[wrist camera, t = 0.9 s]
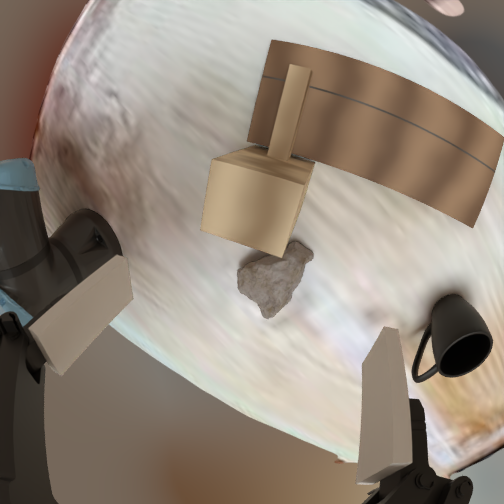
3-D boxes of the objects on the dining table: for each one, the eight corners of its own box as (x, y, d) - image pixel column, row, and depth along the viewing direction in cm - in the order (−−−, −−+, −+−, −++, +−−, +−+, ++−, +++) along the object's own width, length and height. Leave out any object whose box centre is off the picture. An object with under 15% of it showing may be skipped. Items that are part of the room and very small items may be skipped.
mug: (393, 322, 34) (400, 373, 26) (459, 274, 28) (485, 319, 20) (416, 350, 35) (424, 398, 27) (477, 309, 29) (498, 353, 21)
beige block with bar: (244, 193, 32) (200, 230, 22) (274, 68, 25) (238, 38, 14) (300, 210, 32) (281, 258, 21) (336, 83, 24) (339, 57, 13)
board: (252, 140, 29) (246, 141, 27) (275, 44, 23) (271, 39, 21) (466, 222, 25) (472, 228, 24) (496, 136, 19) (504, 137, 18)
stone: (273, 219, 33) (262, 239, 28) (326, 257, 33) (323, 283, 28) (235, 272, 38) (219, 296, 33) (281, 304, 39) (273, 331, 34)
